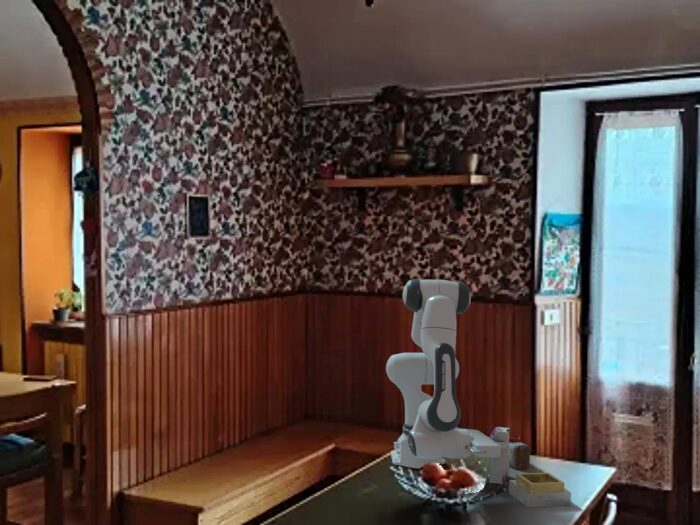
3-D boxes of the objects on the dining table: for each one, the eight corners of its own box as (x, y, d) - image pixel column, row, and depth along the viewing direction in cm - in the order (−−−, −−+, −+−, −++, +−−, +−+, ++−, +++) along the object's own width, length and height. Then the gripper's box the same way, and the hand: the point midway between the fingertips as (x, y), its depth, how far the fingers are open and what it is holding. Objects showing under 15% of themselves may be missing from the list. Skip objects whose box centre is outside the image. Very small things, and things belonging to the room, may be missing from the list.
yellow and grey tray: (508, 492, 268) (509, 472, 268) (550, 491, 271) (551, 471, 271) (527, 507, 255) (527, 485, 254) (570, 505, 257) (571, 484, 257)
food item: (493, 459, 307) (494, 432, 307) (512, 458, 310) (513, 431, 310) (513, 470, 295) (514, 442, 294) (533, 468, 297) (534, 440, 297)
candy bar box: (493, 474, 288) (495, 426, 288) (508, 476, 287) (510, 427, 286) (487, 483, 278) (489, 433, 277) (503, 485, 276) (505, 435, 276)
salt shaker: (508, 477, 260) (510, 435, 259) (489, 475, 261) (490, 433, 261) (509, 472, 266) (511, 431, 265) (491, 470, 267) (492, 429, 266)
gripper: (472, 441, 250) (517, 441, 253) (451, 425, 270) (492, 425, 273) (472, 463, 250) (516, 462, 253) (450, 445, 270) (491, 444, 273)
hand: (503, 443), depth 263 cm, fingers closed on salt shaker, 3 cm apart
